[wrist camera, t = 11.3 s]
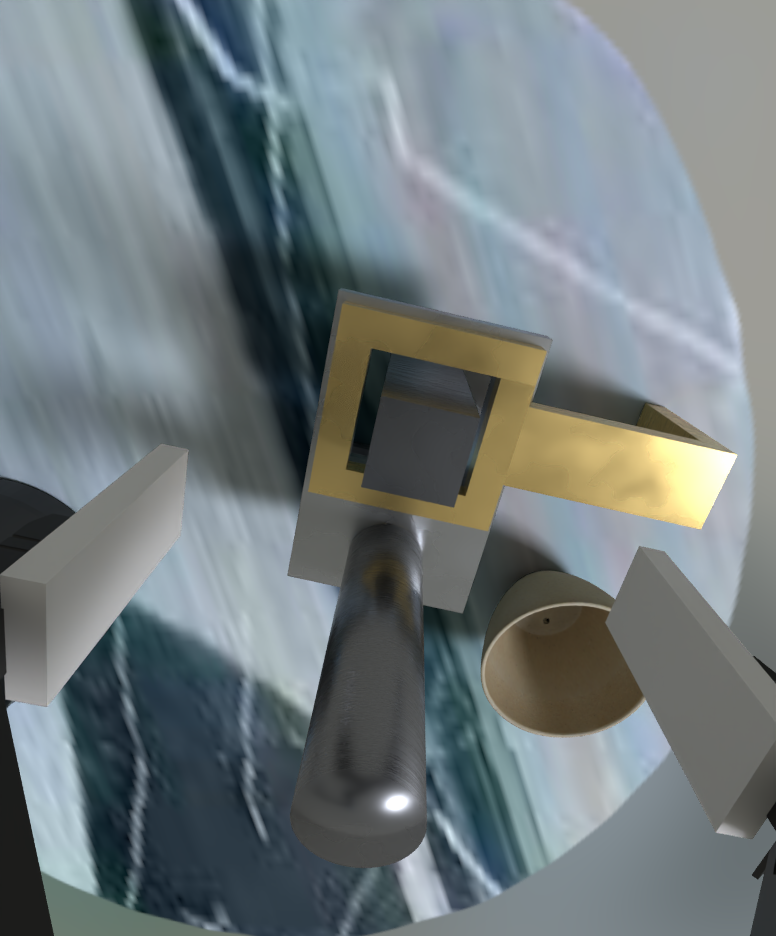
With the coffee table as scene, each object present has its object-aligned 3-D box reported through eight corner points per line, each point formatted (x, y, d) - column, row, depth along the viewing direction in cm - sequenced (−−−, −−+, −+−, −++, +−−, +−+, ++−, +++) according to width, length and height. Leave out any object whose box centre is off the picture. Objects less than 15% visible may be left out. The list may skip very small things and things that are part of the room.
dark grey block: (393, 344, 33) (381, 395, 22) (459, 360, 33) (480, 418, 22) (379, 408, 35) (360, 487, 23) (442, 423, 35) (454, 507, 24)
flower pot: (488, 527, 37) (504, 589, 31) (636, 552, 37) (683, 619, 31) (457, 646, 41) (465, 724, 34) (591, 669, 41) (625, 751, 34)
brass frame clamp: (307, 531, 38) (179, 865, 18) (354, 280, 32) (242, 345, 11) (586, 592, 39) (776, 981, 18) (685, 358, 32) (1138, 551, 12)
